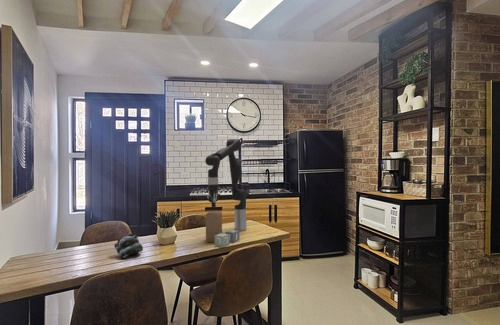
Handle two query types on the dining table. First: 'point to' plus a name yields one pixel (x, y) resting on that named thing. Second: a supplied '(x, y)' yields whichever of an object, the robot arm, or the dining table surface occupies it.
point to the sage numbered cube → (221, 240)
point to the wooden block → (213, 225)
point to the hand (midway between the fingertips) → (213, 207)
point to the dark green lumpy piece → (128, 246)
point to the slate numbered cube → (233, 235)
